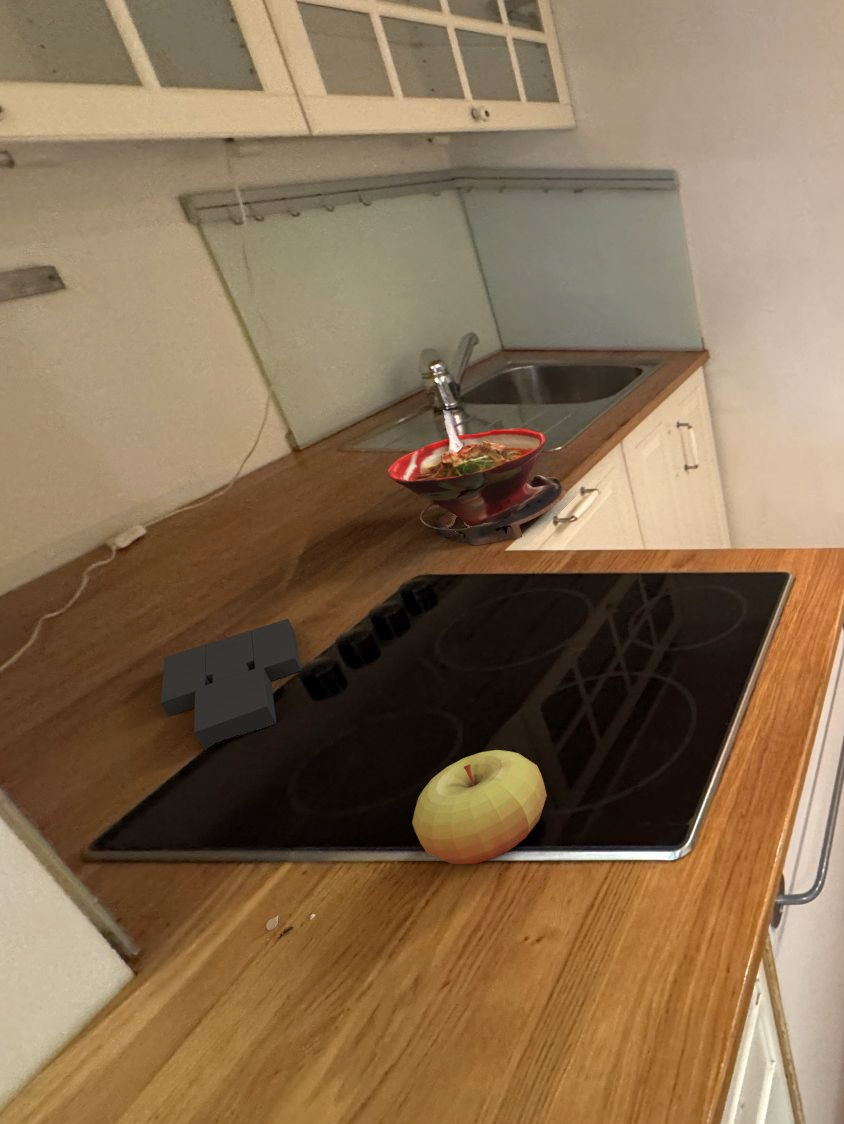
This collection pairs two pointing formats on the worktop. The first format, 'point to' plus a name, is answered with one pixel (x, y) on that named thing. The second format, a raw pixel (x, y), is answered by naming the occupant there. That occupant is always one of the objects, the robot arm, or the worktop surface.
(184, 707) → the base pad
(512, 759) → the apple
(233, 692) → the dark grey beveled block
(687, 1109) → the worktop surface
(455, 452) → the stew
